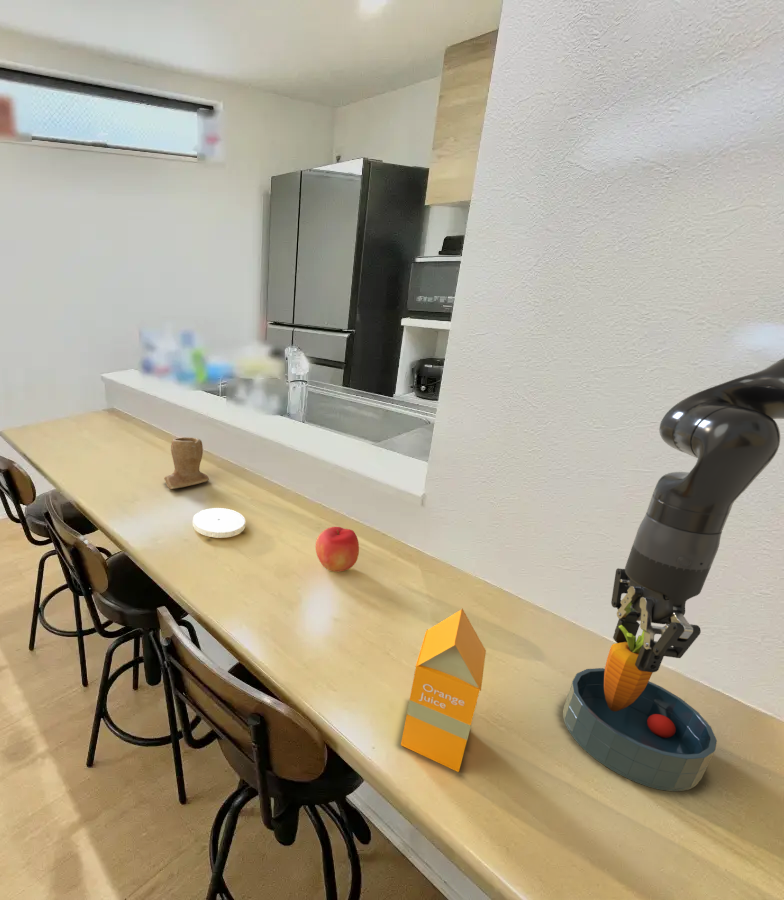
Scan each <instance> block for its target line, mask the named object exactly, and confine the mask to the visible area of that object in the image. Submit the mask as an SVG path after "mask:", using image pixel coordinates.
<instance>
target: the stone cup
mask: <svg viewBox="0 0 784 900" xmlns="http://www.w3.org/2000/svg"><path fill="white" fill-rule="evenodd" d="M170 452H171V458H172V461H173V466H174V471H173V473H171V474H168V475H165V476H163V477H164V478H163V480H164V481H165V484H166V486H167V487H168V489H169V490H174V489H175V490H176V489H181V488H186V487H190V486H191V487H192V486H195V485H198V484H202V483H206V482H208V481H210V477H209V476H208V475H207V474H205V473H203V472H201V470H200V466H201V462H202V459H203V455H204V447H203V442H202V440H201V439H200V438H198V437H190V436H189V437H188V436H187V437H185V436H184V437H177V438H173V439H172V441H171V445H170Z"/></svg>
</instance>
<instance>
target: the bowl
mask: <svg viewBox="0 0 784 900" xmlns="http://www.w3.org/2000/svg"><path fill="white" fill-rule="evenodd" d="M604 672H605V667H600V668H599V667H598V668H597V667H596V668H586V669H584V670H581V671H579V672H577V673H576V674H575V676H574V678H573V680H571V684H570V687H569V690H568V693H567V696H566V699H565V702H564V705H563V712H562V718H563V722H564V725H565V726H566V730H567V731H568V732H569V734H570V735H571V737H572V738H573V740H574V741H575V742H576V743H577V745H579V746H580V747H581V748H582V749H583V750H584V751H585V752H586V753H587V754H589V755H590V756H591V757H592V758H593V759H594V760H596V761H597V762H599V763H600V764H601V765H603V766H605V768H608V769H609V770H611V771H612V772H614V773H616V774H618V775H619V776H621V777H622V778H625V779H627V780H630V781H632V782H634V783H637V784H640V785H642V786H645V787H648V788H652V789H655V790H659V791H666V792H684V791H689V790H691V789H693V788H694V787H696V786H698V784H699V782H700V781H701V780H702V779H703V777H704V775H705V772H706V770H707V769H708V766H709V764H710V762H711V760H712V758H713V756H714V754H715V753H716V748H717V742H718V740H717V737H716V735H715V733H714V731H713V729H712V726H711V725H710V724H709V723H708V722H707V720H705V718H704V717H703V716H702V715H701V713H700V712H699V711H698V710H696V709H695V708H694V707H692V706H691V705H690V704H689V703H687V702H686V701H685V700H683V699H682V698H681V697H679V696H678V695H676V694H675V693H672V692H671V691H669V690H668V689H666V688H664V687H663V686H661V685H659V684H656V683H654V682H652V681H650V680H649V681H648V683H647V685H646V687H645V689H644V691H643V692H642V693H641V694H640V696H639V697H638V698H637V699H636V700H635V701H634V702H633V703H632V704H631V705H629V706H628V707H626V708H624V709H621V710H619V711H611V710H610V708H609V707H608V705H607V702H606V699H605V693H604ZM653 714H660V715H663V716H666V717H667V718H669V719H670V720H671V721H672V722H673V723H674V725H675V728H676V732H675V734H674V735H673V736H672V737H668V738H664V737H660V736H658V735H656V734H654V733H653V732H652V731H651V730H650V729H649V727H648V725H647V719H648V717H649V716H651V715H653Z"/></svg>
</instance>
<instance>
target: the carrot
mask: <svg viewBox="0 0 784 900" xmlns="http://www.w3.org/2000/svg"><path fill="white" fill-rule="evenodd" d="M619 629H620V630H621V631H622V632H623V634H624V636H625V638H626V640H627V642H622V643H617V642H614V643H612V644H611V645H610V648H609V651H608V655H607V658H606V662H605V665H604V669H605V672H604V693H605V699H606V702H607V705H608V707H609V708H610V710H611V711H619V710H621V709H624V708H626V707H628V706H629V705H631V704H632V703H633V702H634V701H635V700H636V699H637V698H638V697H639V696H640V694H641V693H642V692H643V691H644V689H645V687H646V685H647V683H648V681H650V679H651V678H652V675H653V673H654V672H646V671H640V670H639V669H638V668H637V667H636V666H635V663H636V660H637V657H638V655H639V652H640V649H641V647H642V645H643V641H644V630H642V632H641V635H638V637H637V636H636V637H635V636H633V634H631V633H628V631H627V630H626V629H625V628H624V627H623V626H622V625H620V626H619Z"/></svg>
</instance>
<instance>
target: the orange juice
mask: <svg viewBox="0 0 784 900" xmlns="http://www.w3.org/2000/svg"><path fill="white" fill-rule="evenodd" d="M486 654H487V650H486V648H485V647H484V644H483V643H482V641H481V639H480V637H479V636H478V634H477V631H476V630H475V629H474V627H473V625H472V623H471V621H470V619H469V618H468V616H467V613H466V612H465V610H464V609H463V607H461V609H460V610H458V611H456V612H454V613H453V614H451V615H450V616H448V617H447V618H444V619H443V620H442V621H440V622H438V623H436V624H435V625H433V626H432V627H430V628H428V629H426V631H425V633H424V637H423V640H422V643H421V646H420V649H419V653H418V657H417V659H416V663H415V666H414V667H415V669H414V674H413V680H412V684H411V685H412V686H411V691H410V695H409V699H408V704H407V710H406V715H405V716H406V717H405V721H404V727H403V731H402V737H401V742H400V746H402V747H404V748H406V749H407V750H410V751H412V752H414V753H416V754H418V755H421V756H423V757H425V758H427V759H429V760H430V761H433V762H435V763H438V764H440V765H442V766H444V767H446V768H448V769H451V770H453V771H454V772H457V773H460V769H461V766H462V761H463V757H464V753H465V750H466V747H467V742H468V739H469V735H470V731H471V727H472V722H473V718H474V714H475V710H476V707H477V703H478V699H479V696H480V693H481V692H482V686H483V677H484V671H485V670H484V669H485V663H486V661H485V660H486Z"/></svg>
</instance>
